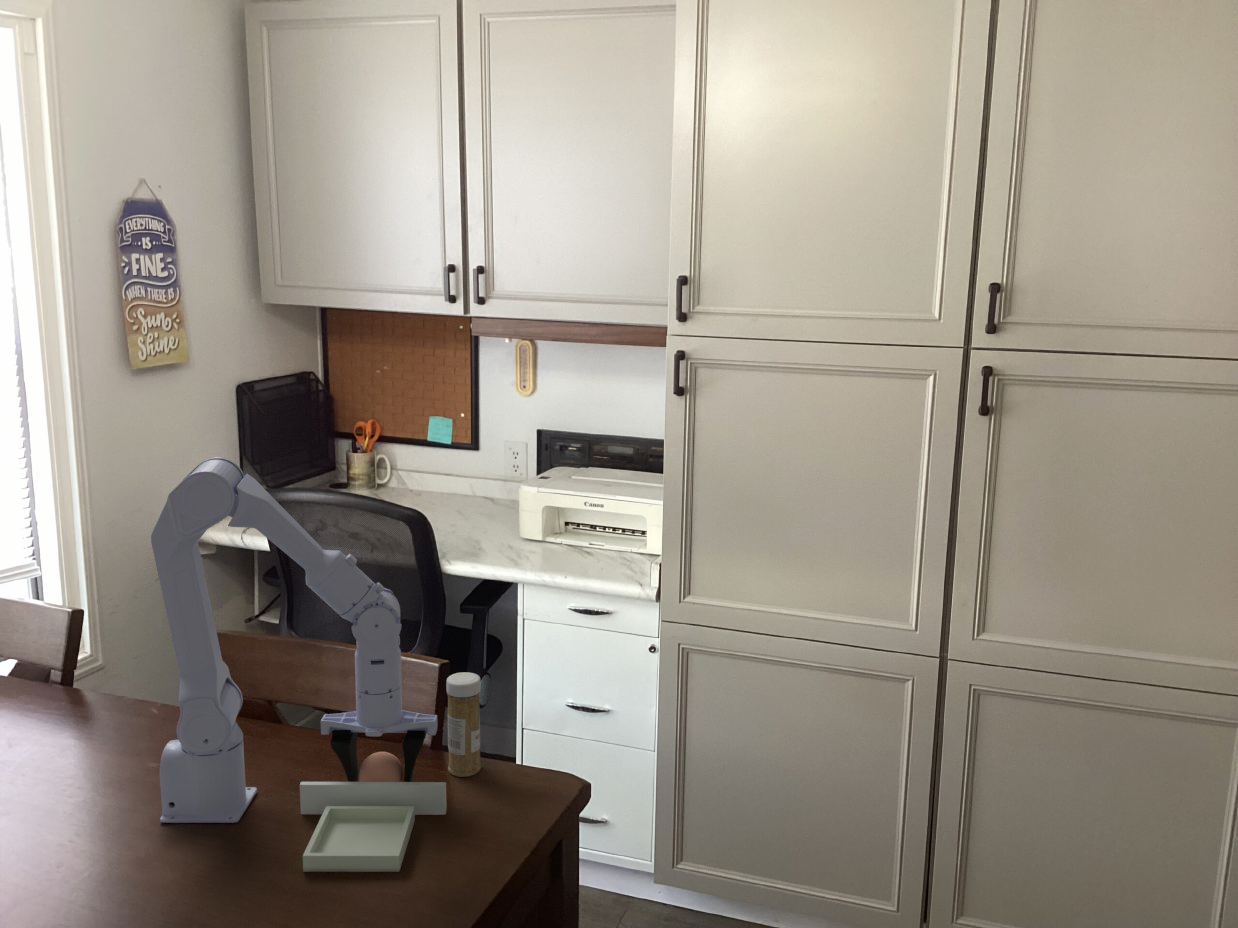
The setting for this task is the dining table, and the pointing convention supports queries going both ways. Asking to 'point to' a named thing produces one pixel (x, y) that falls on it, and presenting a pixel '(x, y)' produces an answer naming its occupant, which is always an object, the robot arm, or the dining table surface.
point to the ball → (381, 768)
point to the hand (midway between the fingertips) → (381, 783)
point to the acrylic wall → (374, 795)
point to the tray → (360, 839)
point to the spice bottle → (463, 723)
